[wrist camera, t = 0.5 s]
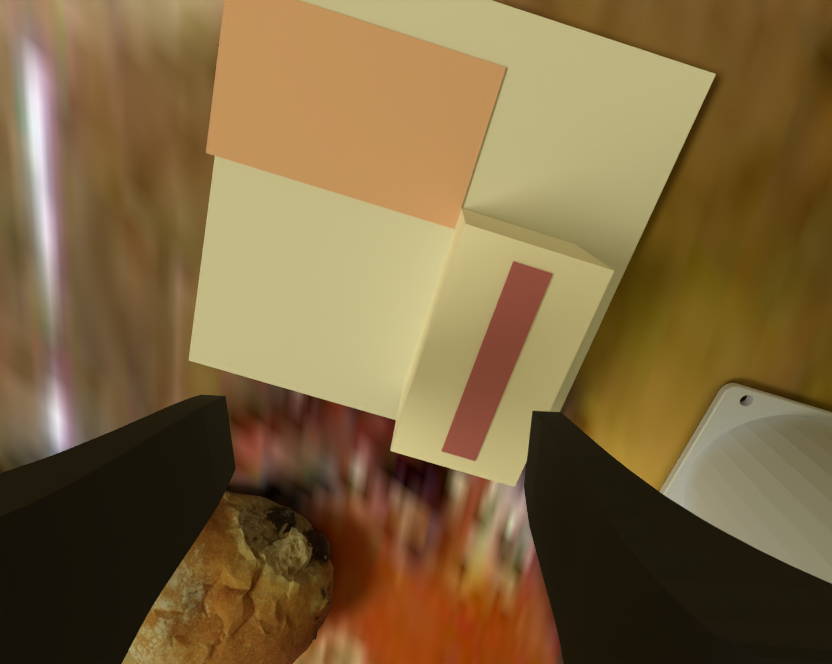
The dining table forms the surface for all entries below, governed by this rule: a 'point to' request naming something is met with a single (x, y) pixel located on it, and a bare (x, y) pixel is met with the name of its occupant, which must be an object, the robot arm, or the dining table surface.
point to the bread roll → (242, 590)
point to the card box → (495, 345)
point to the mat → (410, 173)
